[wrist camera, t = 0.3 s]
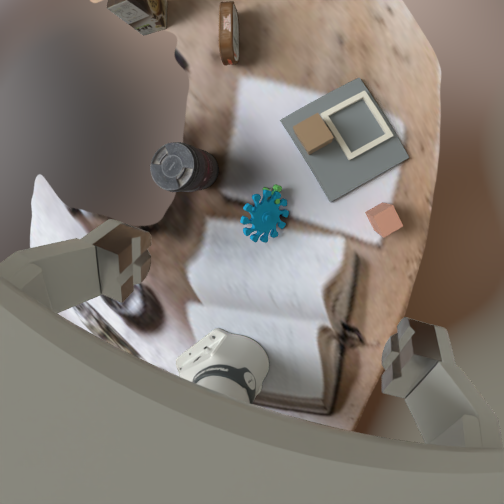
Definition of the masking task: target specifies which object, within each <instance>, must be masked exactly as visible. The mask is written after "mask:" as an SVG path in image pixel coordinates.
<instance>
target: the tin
mask: <svg viewBox="0 0 504 504" xmlns="http://www.w3.org/2000/svg"><path fill="white" fill-rule="evenodd" d="M219 50H220V56H221V60H222V62H223V64H224V65H230V64H237V63H238V61H239V20H238V13H237V9H236V7H235V5H234V2H233V1H230V2H221V3H220V6H219Z"/></svg>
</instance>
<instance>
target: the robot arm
mask: <svg viewBox="0 0 504 504" xmlns="http://www.w3.org/2000/svg"><path fill="white" fill-rule="evenodd" d="M150 246H151V235H150V233H149V232H146V231H144V230H141V229H138V228H136V227H133V226H130V225H128V224H125V223H122V222H119V221H116V220H114V219H109V220H107V221H106V222H105V223H103V224H102V225H100V226H99V227H97V228H96V229H94V230H93V231H91V232H90V233H89V234H87V235H86V236H84V237H83V238H81V239H77V238H76V239H71V240H66V241H61V242H57V243H52V244H48V245H43V246H39V247H34V248H30V249H26V250H21V251H17V252H15V253H14V254H12V255H11V256H10V257H8V258H7V259H5V260H4V261H3V262H1V263H0V504H504V448H503V444H502V438H501V432H500V426H499V421H498V417H497V416H496V414H495V413H494V411H493V410H492V409H491V407H490V406H489V405H488V403H487V402H486V401H485V399H484V398H483V397H482V395H481V394H480V393H479V391H478V390H477V388H476V387H475V386H474V385H473V383H472V382H471V381H470V379H469V378H468V377H467V376H466V374H465V373H464V372H463V371H462V369H461V368H460V367H459V366H456V364H455V360H454V356H453V351H452V347H451V344H450V340H449V336H448V332H447V330H446V329H445V328H443V327H439V326H435V325H430V324H427V323H424V322H420V321H417V320H413V319H410V318H407V317H404V318H403V319H402V320H401V321H400V323H399V324H398V326H397V330H398V333H396V334H394V335H392V336H390V338H389V340H388V341H387V343H386V345H385V347H384V350H383V354H382V366H383V367H384V369H385V370H386V371H385V372H384V374H383V375H382V393H385V394H389V395H393V396H397V397H401V398H405V402H406V404H407V406H408V408H409V410H410V412H411V414H412V416H413V418H414V420H415V422H416V424H417V427H418V429H419V431H420V433H421V435H422V437H423V439H424V442H425V443H418V442H410V441H403V440H396V439H390V438H383V437H378V436H373V435H367V434H362V433H357V432H353V431H348V430H343V429H339V428H334V427H330V426H326V425H322V424H318V423H314V422H310V421H307V420H303V419H299V418H296V417H292V416H289V415H285V414H282V413H278V412H275V411H272V410H269V409H265V408H262V407H259V406H256V405H253V401H254V399H255V397H256V395H257V394H259V393H260V392H261V390H262V382H263V380H264V378H265V377H266V375H267V373H268V370H269V360H268V357H267V354H266V352H265V351H264V349H263V348H262V347H261V346H260V345H259V344H258V343H257V342H255V341H254V340H252V339H250V338H248V337H245V336H242V335H236V334H230V333H228V332H226V331H224V330H222V329H219V328H215V329H214V330H212V331H211V332H210V333H208V334H207V335H206V336H205V337H203V338H202V339H201V340H199V341H198V342H197V343H196V344H194V345H193V346H192V347H190V348H189V349H188V350H186V351H185V352H184V353H182V354H181V355H180V356H179V357H177V359H176V366H177V369H178V372H179V376H177V375H174V374H172V373H170V372H168V371H165V370H163V369H161V368H159V367H157V366H154V365H152V364H150V363H148V362H146V361H144V360H142V359H139V358H137V357H135V356H133V355H131V354H129V353H127V352H125V351H123V350H121V349H119V348H117V347H115V346H114V345H112V344H110V343H108V342H106V341H104V340H102V339H100V338H98V337H97V336H95V335H93V334H91V333H89V332H88V331H86V330H84V329H82V328H81V327H79V326H77V325H75V324H74V323H72V322H70V321H69V320H67V319H65V318H64V317H62V316H60V315H59V314H57V313H59V312H62V311H64V310H66V309H69V308H71V307H74V306H76V305H78V304H81V303H83V302H85V301H88V300H90V299H93V298H95V297H97V296H100V295H101V294H103V295H105V296H107V297H110V298H112V299H114V300H116V301H119V302H121V303H123V302H124V301H125V299H126V298H127V297H128V296H129V295H130V294H131V293H132V292H133V291H134V289H133V285H136V284H139V283H141V282H142V281H143V280H144V279H145V278H146V276H147V274H148V272H149V270H150V266H151V255H150V253H149V252H148V250H147V249H148V248H149V247H150ZM213 336H215V338H214V337H213ZM181 368H182V369H181Z"/></svg>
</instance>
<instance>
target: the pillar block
mask: <svg viewBox="0 0 504 504" xmlns="http://www.w3.org/2000/svg"><path fill="white" fill-rule="evenodd" d="M365 213H366V215H367V217H368V219H369V221H370V223H371V225H372V226H373V228H374V230H375V231H376V232H377V233H378V234H380V235H381V236H382V237H386V236H387V235H389V234H391V233H392V232H394V231H396V230H398V229H399V228H401V227H403V224H402V222H401V220H400V218H399V216H398V214H397V212H396V210H395V208H394V206H393V205H391V204H387V203H383V202H382V203H381V204H379V205H377V206H375V207H374V208H372V209H370V210H368V211H367V212H365Z"/></svg>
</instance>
